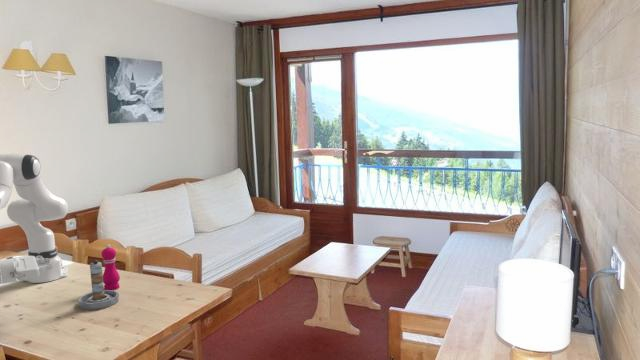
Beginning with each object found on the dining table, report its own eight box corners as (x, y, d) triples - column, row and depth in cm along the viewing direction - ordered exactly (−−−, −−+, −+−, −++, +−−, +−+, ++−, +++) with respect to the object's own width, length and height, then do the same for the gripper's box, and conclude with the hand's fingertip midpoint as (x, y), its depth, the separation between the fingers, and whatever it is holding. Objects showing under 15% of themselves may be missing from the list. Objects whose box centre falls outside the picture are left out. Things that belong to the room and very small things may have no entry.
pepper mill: (114, 291, 223) (110, 246, 220) (99, 290, 224) (95, 246, 221) (123, 285, 230) (120, 242, 227) (109, 285, 231) (105, 242, 228)
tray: (83, 298, 215) (83, 292, 215) (121, 294, 218) (121, 288, 218) (75, 311, 201) (74, 305, 200) (115, 307, 204) (115, 301, 203)
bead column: (94, 299, 211) (90, 258, 209) (105, 297, 212) (102, 257, 210) (92, 302, 207) (88, 261, 204) (103, 301, 208) (100, 260, 205)
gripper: (10, 270, 184) (52, 262, 192) (7, 256, 201) (46, 249, 208) (12, 286, 185) (54, 278, 193) (9, 271, 202) (48, 264, 209)
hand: (50, 263), depth 201 cm, fingers open, 8 cm apart
